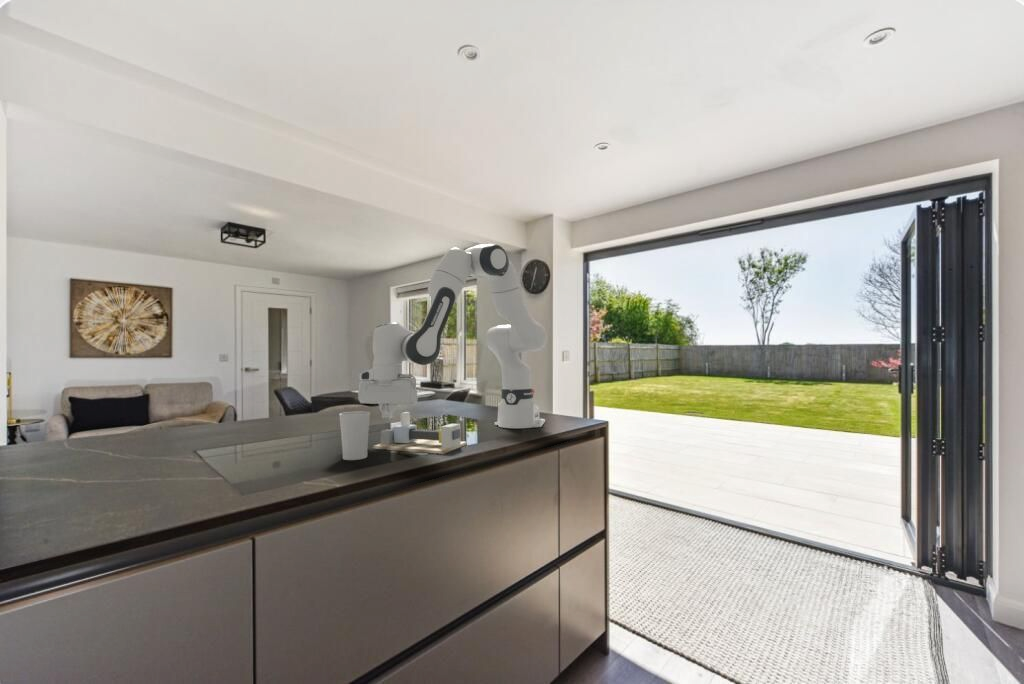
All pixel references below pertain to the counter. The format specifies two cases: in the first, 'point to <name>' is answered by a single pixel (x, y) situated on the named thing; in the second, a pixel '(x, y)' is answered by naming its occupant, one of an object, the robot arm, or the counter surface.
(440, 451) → the board
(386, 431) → the light grey block
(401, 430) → the sleeve
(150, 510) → the counter surface
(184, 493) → the counter surface
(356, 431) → the cup
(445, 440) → the connector
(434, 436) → the dark grey bar
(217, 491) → the counter surface
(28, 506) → the counter surface
